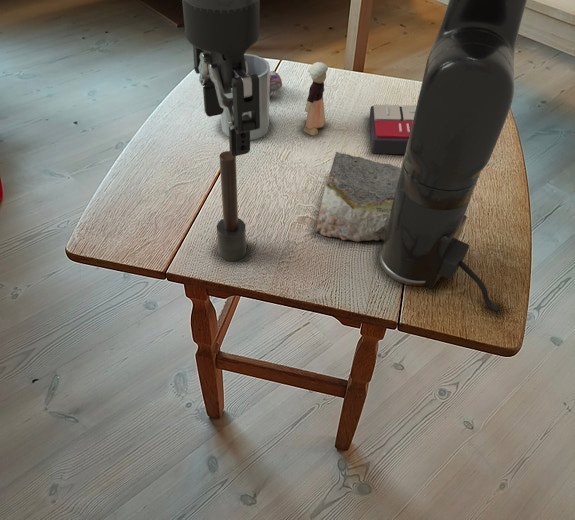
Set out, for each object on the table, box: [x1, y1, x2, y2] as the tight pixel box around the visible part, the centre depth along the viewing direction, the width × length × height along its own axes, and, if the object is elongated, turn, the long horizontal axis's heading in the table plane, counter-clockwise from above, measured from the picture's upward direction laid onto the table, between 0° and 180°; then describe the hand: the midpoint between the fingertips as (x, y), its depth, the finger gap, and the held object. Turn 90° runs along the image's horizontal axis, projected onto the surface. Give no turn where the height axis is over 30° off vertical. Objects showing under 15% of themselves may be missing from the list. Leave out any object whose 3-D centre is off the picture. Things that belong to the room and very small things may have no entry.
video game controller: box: [269, 70, 283, 96], centre depth 106 cm, size 10×5×7 cm, turn 104°
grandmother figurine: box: [303, 61, 329, 136], centre depth 97 cm, size 8×4×13 cm, turn 168°
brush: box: [216, 150, 247, 262], centre depth 73 cm, size 4×4×17 cm
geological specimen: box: [315, 151, 401, 242], centre depth 85 cm, size 11×6×15 cm
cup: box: [220, 53, 271, 141], centre depth 96 cm, size 9×9×12 cm
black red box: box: [368, 104, 417, 155], centre depth 99 cm, size 11×4×15 cm
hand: (226, 132), depth 65 cm, fingers open, 8 cm apart
